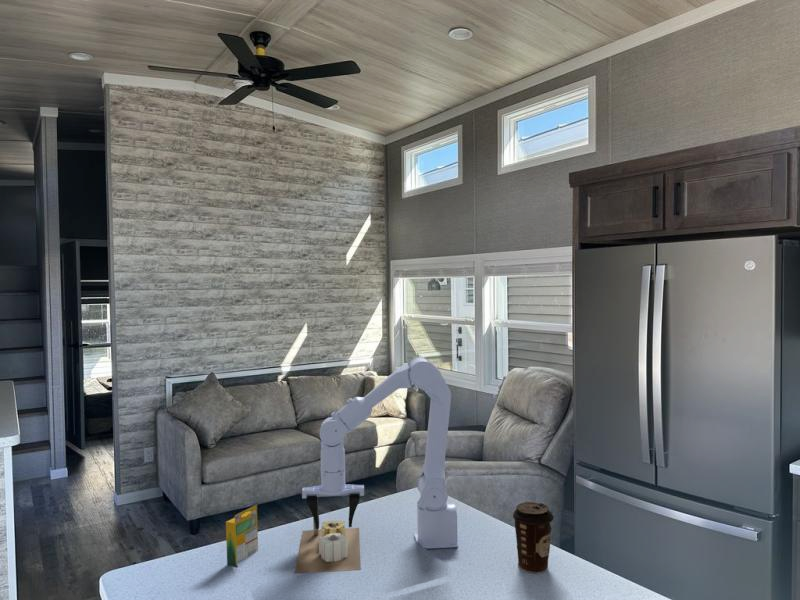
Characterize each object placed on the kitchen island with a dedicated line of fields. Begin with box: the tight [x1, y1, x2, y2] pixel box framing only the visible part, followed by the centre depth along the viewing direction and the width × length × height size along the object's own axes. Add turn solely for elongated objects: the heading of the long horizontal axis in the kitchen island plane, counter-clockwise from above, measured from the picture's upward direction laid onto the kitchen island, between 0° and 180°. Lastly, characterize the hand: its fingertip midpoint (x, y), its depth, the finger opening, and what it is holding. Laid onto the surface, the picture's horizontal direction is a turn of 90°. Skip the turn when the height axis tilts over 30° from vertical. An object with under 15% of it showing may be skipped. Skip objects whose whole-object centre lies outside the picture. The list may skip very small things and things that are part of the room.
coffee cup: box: [512, 501, 554, 574], centre depth 128 cm, size 9×8×13 cm
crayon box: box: [225, 504, 259, 568], centre depth 133 cm, size 7×3×12 cm, turn 152°
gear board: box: [294, 517, 362, 574], centre depth 136 cm, size 14×22×6 cm, turn 5°
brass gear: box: [321, 520, 346, 537], centre depth 139 cm, size 5×5×4 cm
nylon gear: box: [319, 533, 348, 562], centre depth 132 cm, size 5×5×4 cm
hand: (333, 526), depth 139 cm, fingers open, 7 cm apart
